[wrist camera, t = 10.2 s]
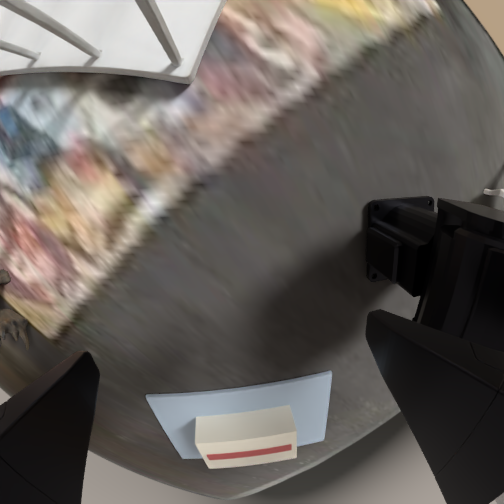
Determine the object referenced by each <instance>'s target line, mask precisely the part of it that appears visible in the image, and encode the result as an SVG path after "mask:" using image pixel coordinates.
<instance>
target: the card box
mask: <svg viewBox="0 0 504 504" xmlns="http://www.w3.org/2000/svg"><path fill="white" fill-rule="evenodd" d="M195 445H196V446H197V448H198V450H199V452H200V454H201V455H202V457H203V459H204V461H205V462H206V464H207V466H208V468H209V469H215V468H229V467H240V466H249V465H257V464H264V463H271V462H277V461H282V460H288V459H293V458H297V430H296V426H295V423H294V419H293V416H292V412H291V409H290V405H286V406H280V407H275V408H269V409H263V410H256V411H249V412H241V413H233V414H224V415H213V416H200V417H196V428H195Z"/></svg>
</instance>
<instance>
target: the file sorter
mask: <svg viewBox="0 0 504 504" xmlns="http://www.w3.org/2000/svg"><path fill="white" fill-rule="evenodd" d="M226 1H227V0H0V76H4V75H13V74H25V73H43V72H88V73H107V74H120V75H130V76H139V77H146V78H153V79H159V80H166V81H171V82H177V83H183V84H191V83H192V82H193V81H194V78H195V75H196V72H197V70H198V67H199V64H200V62H201V59H202V56H203V54H204V51H205V49H206V46H207V44H208V41H209V39H210V37H211V34H212V32H213V30H214V27H215V25H216V23H217V20H218V18H219V16H220V13H221V11H222V9H223V7H224V5H225V3H226Z"/></svg>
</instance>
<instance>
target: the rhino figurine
mask: <svg viewBox="0 0 504 504" xmlns="http://www.w3.org/2000/svg"><path fill="white" fill-rule="evenodd" d="M10 280H11V278H10V276H9V273H8V272H7V271H5V270H3V269H2V270H0V284H1V283H3V284H7V283H8V282H10ZM27 324H28V321H27V320H26V319H25V318H24V317H22V316H21V315H19V314H17V313H16V312H14V311H12V310H11V309H0V337H2V338H3V339H4V340H5V334H6V333H11V334H12V335H13V337H14V339H15V340H16V341H17V340H18V335H20V337H21V338H22V340H23V341H24V343H25V346H26V350H28V349H29V340H28V336H27V332H26V326H27ZM0 346H1V338H0Z"/></svg>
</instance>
